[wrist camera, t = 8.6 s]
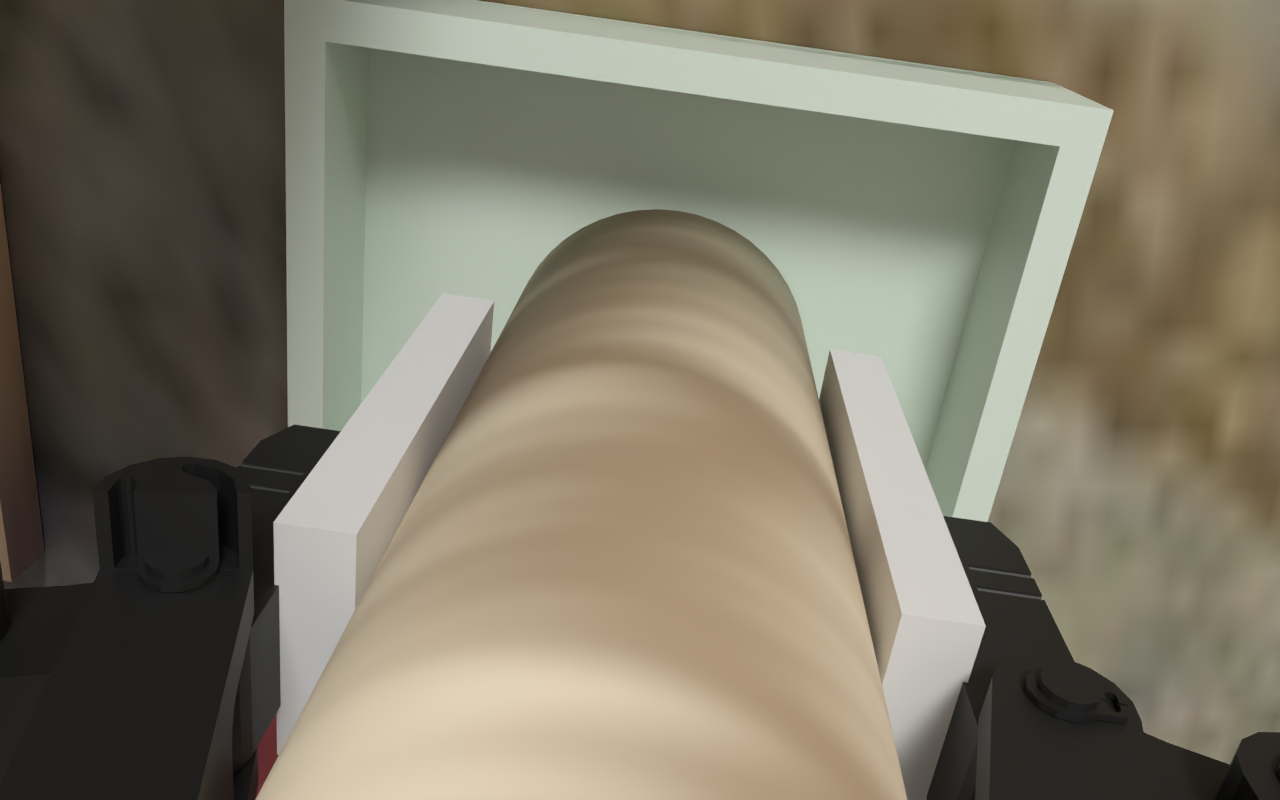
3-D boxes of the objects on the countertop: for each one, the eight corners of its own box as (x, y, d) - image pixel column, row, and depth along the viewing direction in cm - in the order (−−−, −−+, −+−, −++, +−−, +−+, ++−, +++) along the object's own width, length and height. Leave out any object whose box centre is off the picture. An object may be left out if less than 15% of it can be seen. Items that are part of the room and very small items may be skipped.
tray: (341, 494, 22) (289, 574, 19) (349, -19, 18) (283, -8, 15) (913, 576, 22) (942, 669, 19) (1052, 82, 18) (1113, 111, 15)
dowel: (501, 460, 19) (81, 1512, 6) (524, 188, 17) (-24, 943, 4) (775, 500, 19) (895, 1636, 6) (831, 232, 17) (1170, 1119, 4)
